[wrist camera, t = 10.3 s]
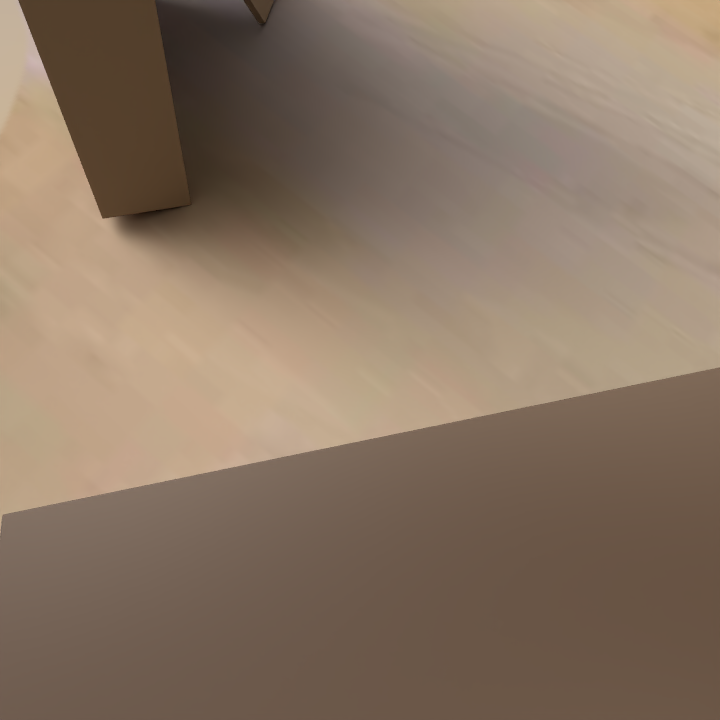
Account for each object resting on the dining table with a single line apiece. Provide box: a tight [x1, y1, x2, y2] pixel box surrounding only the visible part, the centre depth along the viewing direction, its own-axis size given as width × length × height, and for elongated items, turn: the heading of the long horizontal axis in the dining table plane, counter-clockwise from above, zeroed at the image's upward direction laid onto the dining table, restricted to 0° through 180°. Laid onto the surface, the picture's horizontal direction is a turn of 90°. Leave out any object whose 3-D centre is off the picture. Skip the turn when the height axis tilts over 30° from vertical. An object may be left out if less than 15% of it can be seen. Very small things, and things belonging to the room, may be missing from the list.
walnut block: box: [0, 368, 720, 720], centre depth 8 cm, size 5×5×12 cm
